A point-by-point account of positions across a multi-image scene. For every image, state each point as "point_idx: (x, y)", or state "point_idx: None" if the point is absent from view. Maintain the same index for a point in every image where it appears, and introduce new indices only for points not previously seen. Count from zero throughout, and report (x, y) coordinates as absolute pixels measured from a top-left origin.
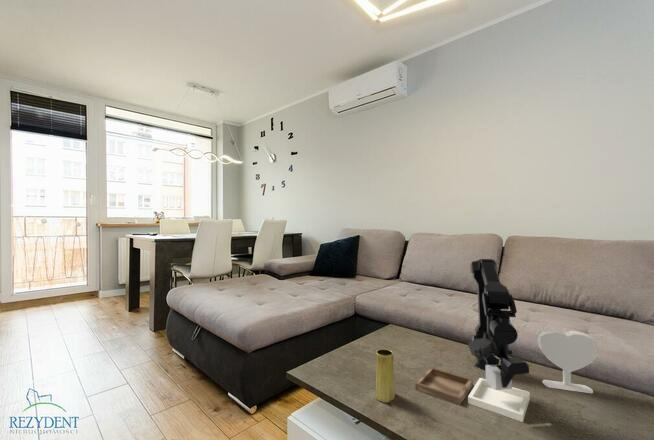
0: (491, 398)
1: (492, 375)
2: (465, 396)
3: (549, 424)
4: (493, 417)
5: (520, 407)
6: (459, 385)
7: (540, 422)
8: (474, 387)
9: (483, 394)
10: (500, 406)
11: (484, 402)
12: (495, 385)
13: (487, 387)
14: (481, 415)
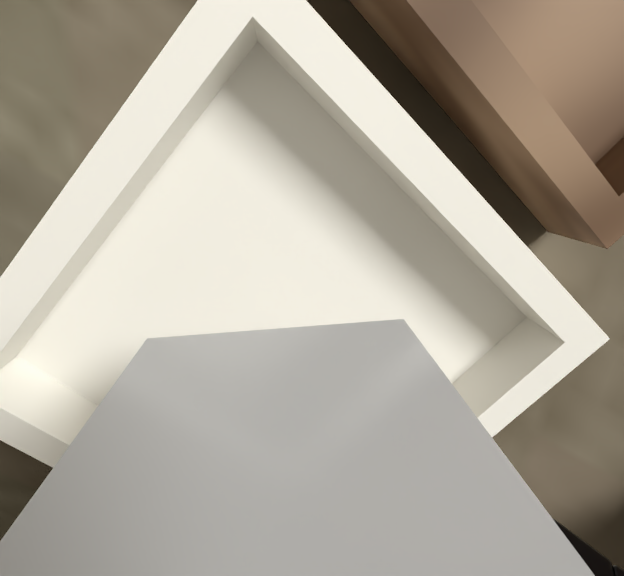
0: (319, 289)
1: (185, 476)
2: (377, 16)
3: (20, 509)
4: (49, 155)
5: (56, 438)
6: (597, 75)
7: (35, 472)
8: (446, 170)
9: (390, 250)
10: (44, 263)
11: (116, 116)
12: (135, 372)
13: (488, 344)
14: (68, 42)
